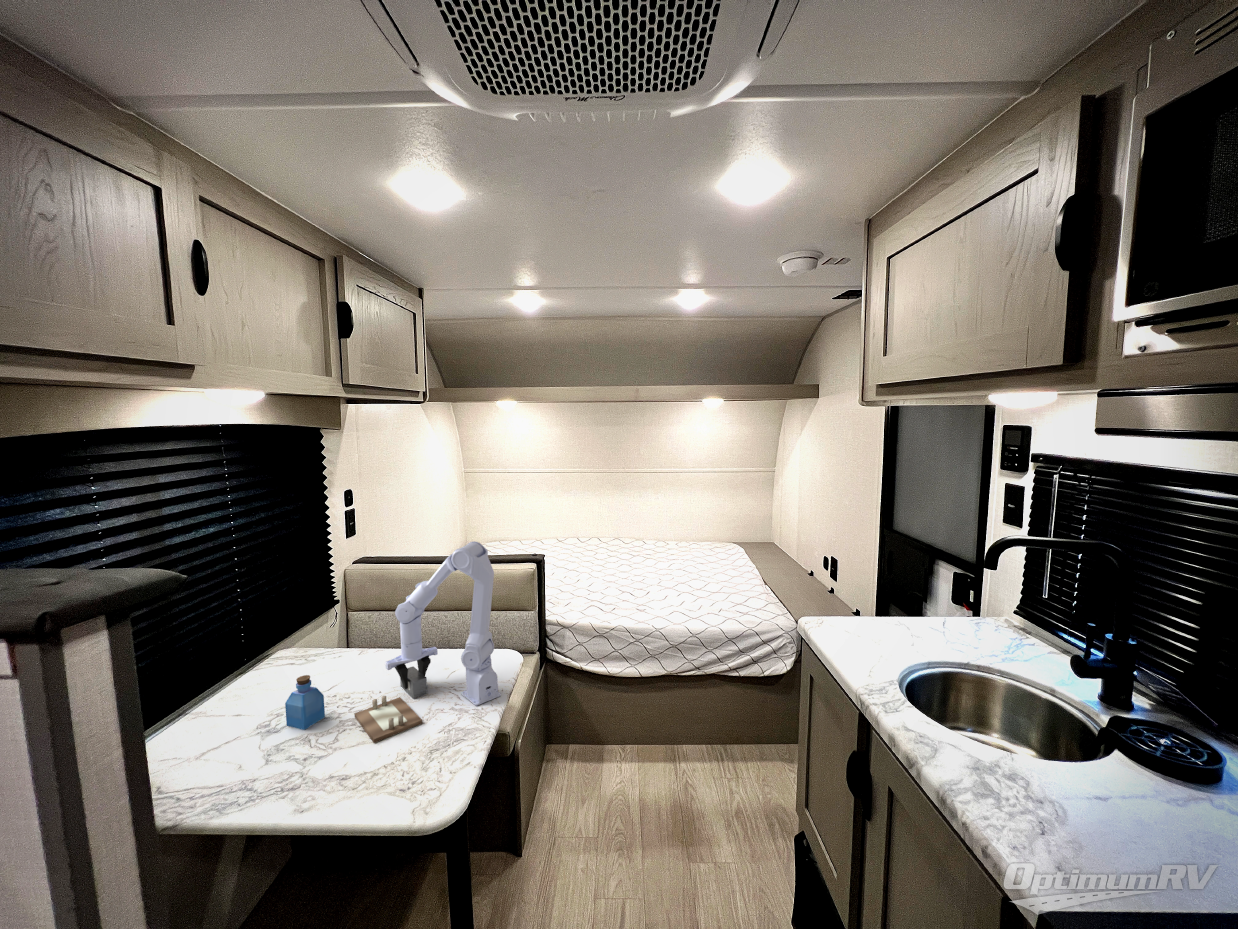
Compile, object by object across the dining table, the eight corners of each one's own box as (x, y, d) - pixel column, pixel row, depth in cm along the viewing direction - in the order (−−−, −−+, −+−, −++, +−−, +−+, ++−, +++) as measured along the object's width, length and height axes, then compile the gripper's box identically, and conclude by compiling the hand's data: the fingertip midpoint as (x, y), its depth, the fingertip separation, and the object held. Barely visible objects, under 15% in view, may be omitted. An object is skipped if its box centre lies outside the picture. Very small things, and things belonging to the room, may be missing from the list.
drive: (427, 694, 149) (426, 677, 148) (413, 699, 146) (412, 682, 146) (414, 682, 156) (413, 666, 156) (400, 686, 153) (399, 670, 153)
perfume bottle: (304, 730, 132) (301, 685, 131) (286, 726, 134) (283, 681, 133) (325, 717, 138) (322, 674, 137) (307, 713, 140) (305, 671, 139)
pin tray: (422, 723, 134) (421, 710, 133) (373, 743, 126) (373, 729, 125) (400, 700, 145) (399, 688, 145) (354, 717, 137) (353, 704, 137)
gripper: (430, 629, 158) (432, 672, 159) (380, 643, 148) (383, 688, 149) (439, 636, 153) (441, 680, 154) (389, 651, 143) (391, 698, 144)
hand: (413, 685), depth 151 cm, fingers closed on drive, 4 cm apart
